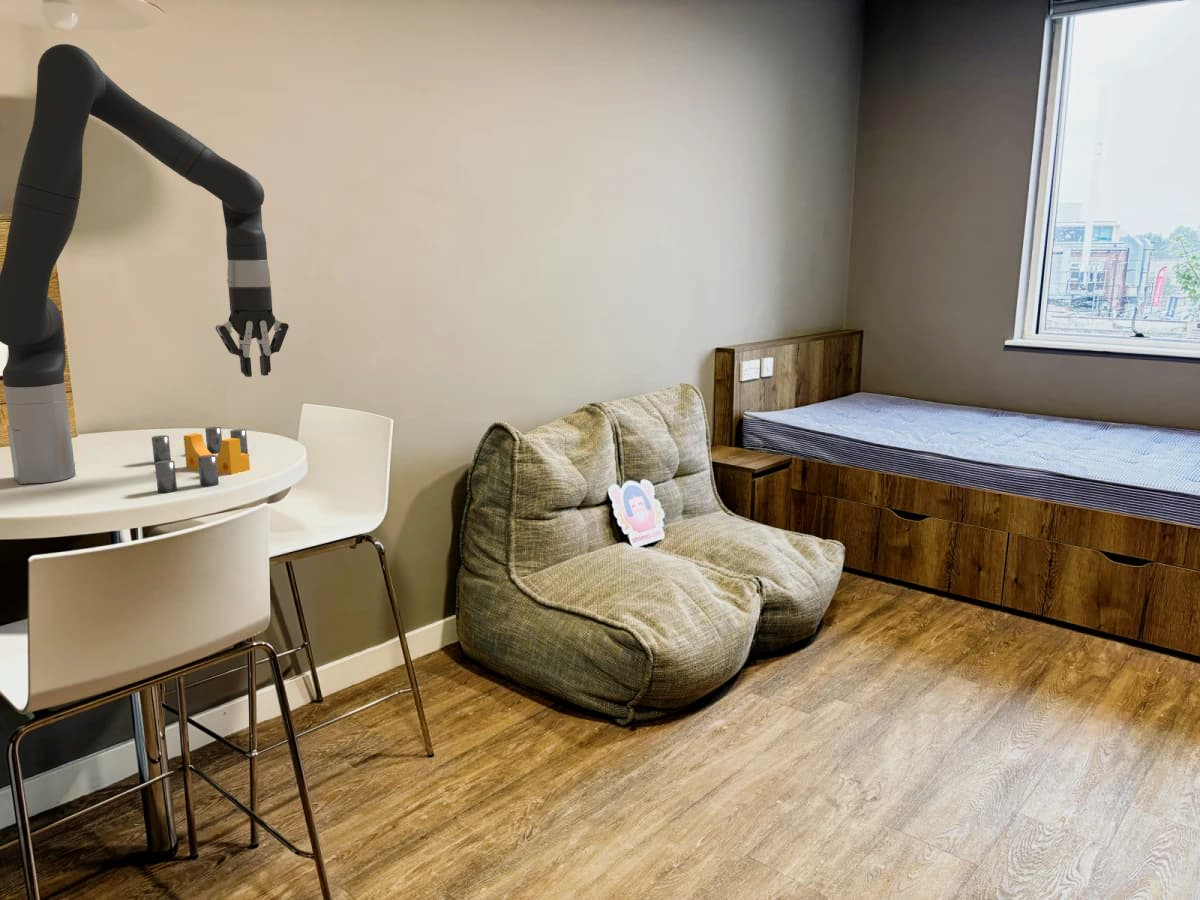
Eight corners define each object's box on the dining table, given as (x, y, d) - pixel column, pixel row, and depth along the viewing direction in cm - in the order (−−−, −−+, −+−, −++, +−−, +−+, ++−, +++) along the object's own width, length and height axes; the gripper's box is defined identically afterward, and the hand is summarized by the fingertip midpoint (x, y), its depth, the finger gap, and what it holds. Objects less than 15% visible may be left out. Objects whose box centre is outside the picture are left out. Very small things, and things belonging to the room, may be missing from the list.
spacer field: (160, 493, 153) (157, 465, 152) (114, 463, 176) (112, 438, 175) (293, 473, 168) (291, 447, 167) (234, 448, 191) (232, 424, 190)
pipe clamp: (250, 470, 171) (247, 437, 170) (231, 475, 167) (228, 441, 166) (205, 464, 176) (202, 431, 175) (186, 468, 172) (183, 435, 171)
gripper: (218, 285, 163) (226, 380, 167) (293, 284, 172) (299, 374, 176) (204, 285, 169) (212, 377, 172) (278, 283, 178) (284, 371, 181)
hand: (256, 375), depth 174 cm, fingers closed
